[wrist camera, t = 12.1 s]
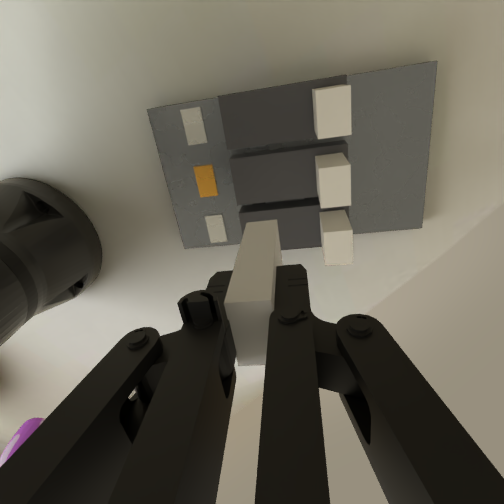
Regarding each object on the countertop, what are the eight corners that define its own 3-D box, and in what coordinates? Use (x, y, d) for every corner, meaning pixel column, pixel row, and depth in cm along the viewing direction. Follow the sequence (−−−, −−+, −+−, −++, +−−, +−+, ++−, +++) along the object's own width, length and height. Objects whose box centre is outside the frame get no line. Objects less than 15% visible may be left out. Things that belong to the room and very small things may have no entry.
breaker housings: (248, 244, 34) (238, 278, 28) (222, 95, 28) (203, 99, 22) (346, 235, 32) (358, 270, 26) (343, 75, 26) (357, 73, 20)
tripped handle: (317, 190, 28) (320, 208, 24) (315, 155, 27) (318, 168, 23) (343, 187, 28) (351, 205, 24) (342, 152, 27) (350, 164, 23)
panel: (188, 242, 36) (184, 249, 35) (153, 108, 30) (145, 109, 29) (416, 222, 32) (422, 229, 31) (430, 61, 26) (438, 60, 25)
